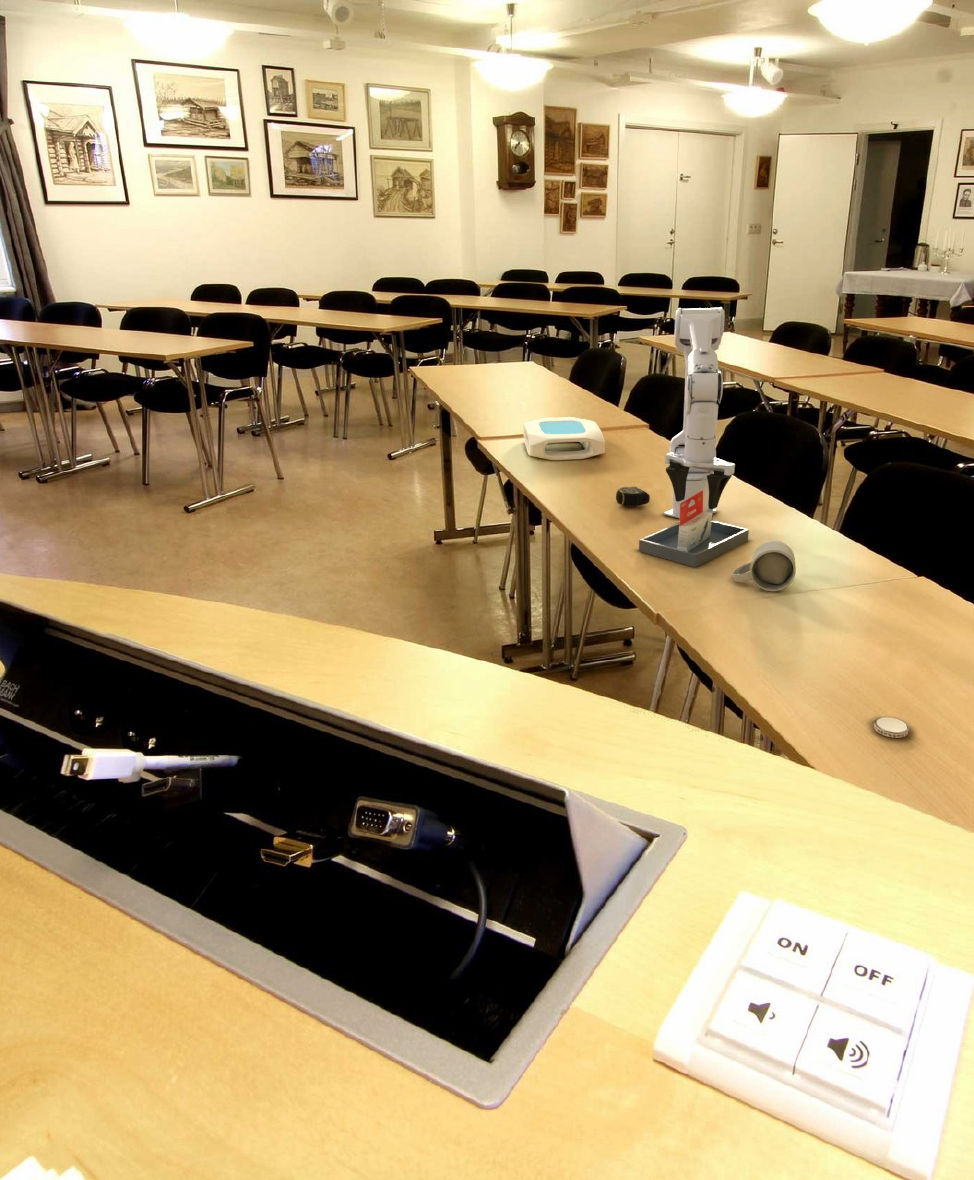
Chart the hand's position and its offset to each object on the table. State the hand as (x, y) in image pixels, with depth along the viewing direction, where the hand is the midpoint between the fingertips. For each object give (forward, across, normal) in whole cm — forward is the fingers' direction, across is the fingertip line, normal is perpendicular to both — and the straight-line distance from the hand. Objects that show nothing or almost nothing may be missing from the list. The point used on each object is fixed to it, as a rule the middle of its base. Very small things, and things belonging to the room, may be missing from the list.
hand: (696, 504), depth 167 cm
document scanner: (+9, -75, +44) cm, 87 cm away
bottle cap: (+9, +56, -40) cm, 69 cm away
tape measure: (+9, -26, +14) cm, 31 cm away
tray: (+9, 0, 0) cm, 9 cm away
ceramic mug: (+9, +20, -8) cm, 23 cm away
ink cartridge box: (+9, 0, 0) cm, 9 cm away
